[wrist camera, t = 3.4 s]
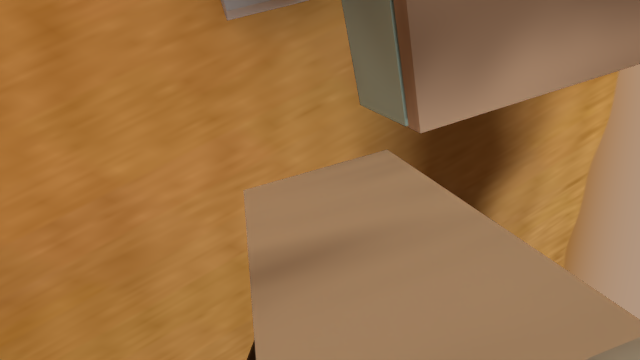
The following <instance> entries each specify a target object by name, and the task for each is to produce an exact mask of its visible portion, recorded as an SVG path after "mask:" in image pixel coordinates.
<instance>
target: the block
mask: <svg viewBox="0 0 640 360" xmlns="http://www.w3.org/2000/svg"><path fill="white" fill-rule="evenodd" d="M244 201H245V215H246V229H247V243H248V257H249V271H250V284H251V298H252V312H253V326H254V340H255V354H256V360H640V319H638V318H637V317H635V316H634V315H632V314H631V313H629V312H628V311H626V310H625V309H623V308H622V307H620V306H619V305H617V304H616V303H614V302H613V301H611V300H610V299H608V298H607V297H605V296H604V295H602V294H601V293H599V292H598V291H597V290H595V289H593V288H592V287H591V286H589V285H588V284H586V283H584V282H583V281H582V280H580V279H579V278H577V277H576V276H574V275H573V274H571V273H570V272H568V271H567V270H565V269H564V268H562V267H561V266H559V265H558V264H556V263H555V262H554V261H552V260H551V259H549V258H548V257H546V256H545V255H543V254H542V253H540V252H539V251H537V250H536V249H534V248H533V247H531V246H530V245H528V244H527V243H525V242H524V241H522V240H521V239H519V238H518V237H516V236H515V235H513V234H512V233H510V232H509V231H507V230H506V229H505V228H503V227H502V226H500V225H499V224H497V223H496V222H494V221H493V220H491V219H490V218H488V217H487V216H485V215H484V214H482V213H481V212H479V211H478V210H476V209H475V208H473V207H472V206H470V205H469V204H467V203H466V202H464V201H463V200H461V199H460V198H458V197H457V196H456V195H454V194H453V193H451V192H450V191H448V190H447V189H445V188H444V187H442V186H441V185H439V184H438V183H436V182H435V181H433V180H432V179H430V178H429V177H427V176H426V175H424V174H423V173H421V172H420V171H418V170H417V169H415V168H414V167H412V166H411V165H409V164H408V163H407V162H405V161H404V160H402V159H401V158H399V157H398V156H396V155H395V154H393V153H392V152H390V151H389V150H384V151H381V152H377V153H374V154H370V155H367V156H363V157H359V158H356V159H352V160H349V161H345V162H342V163H338V164H335V165H331V166H328V167H324V168H321V169H317V170H314V171H310V172H307V173H303V174H300V175H296V176H292V177H289V178H285V179H282V180H278V181H275V182H271V183H268V184H264V185H261V186H257V187H254V188H250V189H247V190H244Z"/></svg>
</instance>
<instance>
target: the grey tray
mask: <svg viewBox="0 0 640 360" xmlns="http://www.w3.org/2000/svg"><path fill="white" fill-rule="evenodd" d="M304 1H308V0H221V2H222V6H223V9H224V12H225V15H226V18H227V20H231V19H235V18H239V17H243V16H247V15H251V14H255V13H259V12H263V11H268V10H272V9H276V8H280V7H284V6H288V5H292V4H296V3H300V2H304ZM342 5H343V11H344V16H345V22H346V27H347V33H348V39H349V44H350V50H351V55H352V61H353V66H354V72H355V78H356V83H357V89H358V94H359V100H360V105H362V106H364V107H366V108H368V109H370V110H372V111H375V112H377V113H379V114H381V115H383V116H385V117H387V118H389V119H391V120H393V121H396V122H398V123H400V124H402V125H404V126H408V117H407V109H406V101H405V92H404V84H403V76H402V68H401V59H400V51H399V43H398V35H397V26H396V18H395V10H394V2H393V0H342Z"/></svg>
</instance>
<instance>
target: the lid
mask: <svg viewBox="0 0 640 360" xmlns="http://www.w3.org/2000/svg"><path fill="white" fill-rule="evenodd" d="M393 2H394V10H395V18H396V26H397V35H398V43H399V51H400V59H401V68H402V76H403V84H404V92H405V101H406V109H407V117H408V125H409V128H410V129H412V130H414V131H416V132H419V133H423V132H427V131H430V130H433V129H436V128H439V127H442V126H446V125H449V124H452V123H455V122H458V121H461V120H465V119H468V118H471V117H474V116H477V115H480V114H483V113H487V112H490V111H493V110H496V109H499V108H502V107H506V106H509V105H512V104H515V103H518V102H521V101H525V100H528V99H531V98H534V97H537V96H540V95H543V94H547V93H550V92H553V91H556V90H559V89H562V88H566V87H569V86H572V85H575V84H578V83H581V82H585V81H588V80H591V79H594V78H597V77H600V76H603V75H607V74H610V73H613V72H616V71H619V70H622V69H625V68H629V67H632V66H635V65H638V64H640V0H393Z"/></svg>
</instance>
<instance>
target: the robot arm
mask: <svg viewBox="0 0 640 360" xmlns="http://www.w3.org/2000/svg"><path fill="white" fill-rule="evenodd" d="M247 360H256V354H255V340H254V342H253V345H252V347H251V350H250V353H249V355H248V358H247Z"/></svg>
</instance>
